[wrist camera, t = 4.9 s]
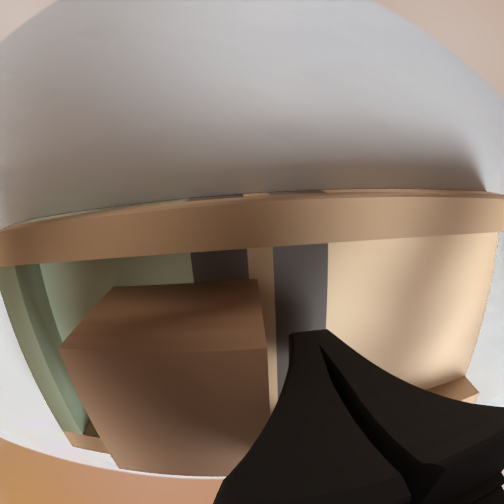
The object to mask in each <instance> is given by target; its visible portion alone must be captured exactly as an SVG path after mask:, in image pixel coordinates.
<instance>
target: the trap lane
mask: <svg viewBox="0 0 504 504" xmlns="http://www.w3.org/2000/svg"><path fill="white" fill-rule="evenodd" d="M499 232H504V195H501V194H497V193H492V192H487V191H468V190H440V189H337V190H307V191H285V192H266V193H250V194H236V195H222V196H210V197H199V198H188V199H177V200H167V201H158V202H149V203H140V204H132V205H124V206H116V207H108V208H101V209H94V210H87V211H80V212H73V213H67V214H61V215H54V216H48V217H42V218H37V219H31V220H25V221H22V222H20V223H17V224H14V225H11V226H9V227H6V228H3V229H1V230H0V291H1V294H2V297H3V300H4V304H5V307H6V310H7V313H8V316H9V319H10V322H11V324H12V327H13V330H14V332H15V335H16V338H17V340H18V343H19V345H20V348H21V350H22V353H23V355H24V357H25V360H26V362H27V364H28V366H29V369H30V371H31V373H32V375H33V377H34V379H35V381H36V383H37V385H38V387H39V389H40V391H41V393H42V395H43V397H44V399H45V401H46V403H47V405H48V406H49V408H50V410H51V412H52V414H53V415H54V417H55V419H56V420H57V422H58V424H59V426H60V427H61V429H62V430H63V432H64V434H65V435H66V437H67V438H68V440H69V442H70V443H71V445H72V446H73V447H77V448H82V449H87V450H92V451H97V452H102V453H108V454H110V453H109V452H108V450H107V448H106V447H105V445H104V443H103V442H102V440H101V438H100V436H99V435H98V433H97V431H96V429H95V427H94V426H93V424H92V422H91V420H90V418H89V416H88V414H87V412H86V410H85V408H84V406H83V404H82V402H81V400H80V398H79V396H78V394H77V392H76V390H75V387H74V385H73V383H72V381H71V379H70V376H69V374H68V372H67V369H66V367H65V364H64V362H63V360H62V357H61V354H60V352H59V349H58V347H59V346H60V345H61V344H62V343H63V341H64V340H65V339H66V338H67V337H68V336H69V335H70V333H71V332H72V331H73V330H74V329H75V328H76V327H77V325H78V324H79V323H80V322H81V321H82V320H83V319H84V318H85V317H86V315H87V314H88V313H89V312H90V311H91V310H92V309H93V308H94V307H95V306H96V305H97V303H98V302H99V301H100V300H101V299H102V298H103V297H104V296H105V295H106V294H107V293H108V292H109V291H110V290H111V288H112V287H120V286H143V285H163V284H182V283H199V282H215V281H231V280H246V279H258V286H259V294H260V301H261V308H262V315H263V322H264V329H265V336H266V343H267V355H268V377H269V399H270V416H271V414H272V412H273V410H274V408H275V406H276V403H277V401H278V399H279V396H280V394H281V391H282V388H283V385H284V381H285V378H286V375H287V371H288V366H289V335H290V334H291V333H294V332H304V331H313V330H322V329H328V330H329V331H330V332H332V333H333V334H334V335H336V336H337V337H338V338H339V339H341V340H342V341H343V342H344V343H346V344H347V345H348V346H350V347H351V348H352V349H354V350H355V351H356V352H358V353H359V354H360V355H362V356H363V357H365V358H366V359H368V360H369V361H371V362H372V363H374V364H375V365H377V366H378V367H380V368H382V369H383V370H385V371H387V372H388V373H390V374H392V375H394V376H396V377H398V378H400V379H402V380H404V381H406V382H408V383H410V384H412V385H414V386H417V387H419V388H422V389H424V390H427V391H430V392H432V393H435V394H438V395H441V396H444V397H448V398H451V399H455V400H459V401H464V402H468V403H473V404H475V402H476V400H477V397H478V395H479V392H478V391H477V389H476V388H475V387H474V386H473V385H472V384H471V383H470V381H469V380H468V379H467V378H466V377H465V375H466V373H467V370H468V367H469V364H470V361H471V358H472V355H473V352H474V349H475V346H476V343H477V339H478V336H479V332H480V329H481V325H482V321H483V318H484V314H485V310H486V305H487V301H488V296H489V292H490V287H491V282H492V276H493V271H494V265H495V258H496V252H497V244H498V235H499Z"/></svg>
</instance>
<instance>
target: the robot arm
mask: <svg viewBox="0 0 504 504" xmlns="http://www.w3.org/2000/svg"><path fill="white" fill-rule="evenodd" d="M503 469H504V407H495V406H486V405H478V404H473V403H468V402H464V401H459V400H455V399H451V398H448V397H444V396H441V395H438V394H435V393H432V392H430V391H427V390H424V389H422V388H419V387H417V386H414V385H412V384H410V383H408V382H406V381H404V380H402V379H400V378H398V377H396V376H394V375H392V374H390V373H388V372H387V371H385V370H383V369H382V368H380V367H378V366H377V365H375V364H374V363H372V362H371V361H369V360H368V359H366V358H365V357H363V356H362V355H360V354H359V353H358V352H356V351H355V350H354V349H352V348H351V347H350V346H348V345H347V344H346V343H344V342H343V341H342V340H341V339H339V338H338V337H337V336H336V335H334V334H333V333H332V332H330V331H329V330H328V329H322V330H313V331H304V332H294V333H291V334H290V335H289V366H288V371H287V375H286V378H285V381H284V385H283V388H282V391H281V394H280V396H279V399H278V401H277V403H276V406H275V408H274V410H273V412H272V414H271V416H270V418H269V420H268V422H267V424H266V425H265V427H264V429H263V430H262V432H261V434H260V435H259V437H258V438H257V440H256V441H255V442H254V444H253V445H252V447H251V448H250V450H249V451H248V452H247V454H246V455H245V456H244V458H243V459H242V460H241V461H240V462H239V463H238V465H237V466H236V467H235V468H234V469H233V470H232V471H231V472H230V474H229V475H228V476H227V477H226V478H225V479H224V480H223V482H222V484H221V486H220V489H219V491H218V493H217V495H216V498H215V500H214V503H213V504H504V490H503V488H502V485H503V484H504V476H503V475H502V473H501V472H502V470H503Z"/></svg>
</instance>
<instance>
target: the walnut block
mask: <svg viewBox="0 0 504 504" xmlns="http://www.w3.org/2000/svg"><path fill="white" fill-rule="evenodd" d="M58 349H59V352H60V354H61V357H62V360H63V362H64V364H65V367H66V369H67V372H68V374H69V376H70V379H71V381H72V383H73V385H74V387H75V390H76V392H77V394H78V396H79V398H80V400H81V402H82V404H83V406H84V408H85V410H86V412H87V414H88V416H89V418H90V420H91V422H92V424H93V426H94V427H95V429H96V431H97V433H98V435H99V436H100V438H101V440H102V442H103V443H104V445H105V447H106V448H107V450H108V452H109V453H110V455H111V457H112V458H113V460H114V461H115V463H116V465H117V466H118V468H119V469H126V470H133V471H140V472H148V473H158V474H169V475H184V476H228V475H229V474H230V472H231V471H232V470H233V469H234V468H235V467H236V466H237V465H238V463H239V462H240V461H241V460H242V459H243V458H244V456H245V455H246V454H247V452H248V451H249V450H250V448H251V447H252V445H253V444H254V442H255V441H256V440H257V438H258V437H259V435H260V434H261V432H262V430H263V429H264V427H265V425H266V424H267V422H268V420H269V418H270V399H269V377H268V355H267V343H266V336H265V329H264V322H263V315H262V308H261V301H260V294H259V286H258V279H246V280H231V281H215V282H199V283H182V284H163V285H143V286H120V287H112V288H111V290H110V291H109V292H108V293H107V294H106V295H105V296H104V297H103V298H102V299H101V300H100V301H99V302H98V303H97V305H96V306H95V307H94V308H93V309H92V310H91V311H90V312H89V313H88V314H87V315H86V317H85V318H84V319H83V320H82V321H81V322H80V323H79V324H78V325H77V327H76V328H75V329H74V330H73V331H72V332H71V333H70V335H69V336H68V337H67V338H66V339H65V340H64V341H63V343H62V344H61V345H60V346H59V347H58Z"/></svg>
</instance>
